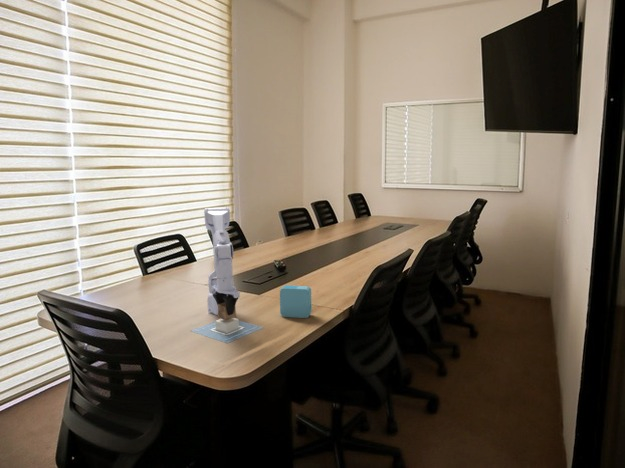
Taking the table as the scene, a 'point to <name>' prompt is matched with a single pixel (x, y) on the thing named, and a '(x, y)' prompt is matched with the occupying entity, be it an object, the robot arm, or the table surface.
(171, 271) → the table surface
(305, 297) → the data package
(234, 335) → the blueprint board
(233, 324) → the base block
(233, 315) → the walnut block
